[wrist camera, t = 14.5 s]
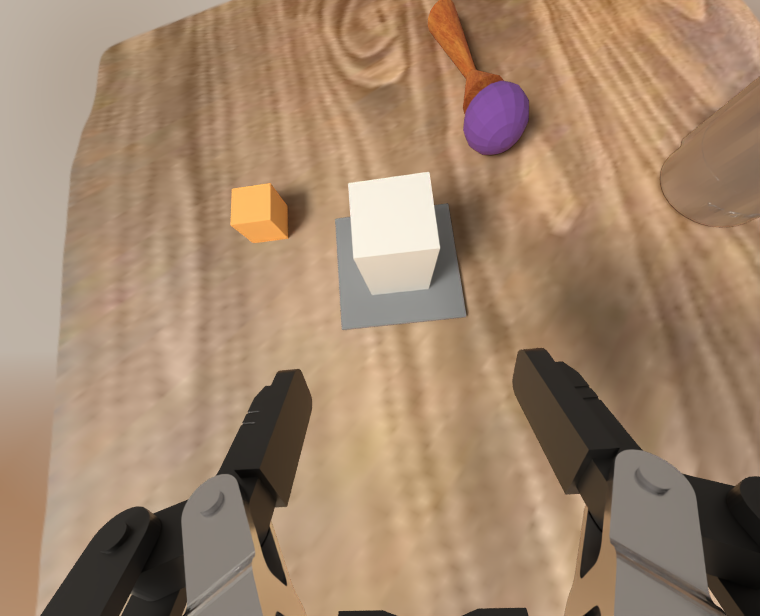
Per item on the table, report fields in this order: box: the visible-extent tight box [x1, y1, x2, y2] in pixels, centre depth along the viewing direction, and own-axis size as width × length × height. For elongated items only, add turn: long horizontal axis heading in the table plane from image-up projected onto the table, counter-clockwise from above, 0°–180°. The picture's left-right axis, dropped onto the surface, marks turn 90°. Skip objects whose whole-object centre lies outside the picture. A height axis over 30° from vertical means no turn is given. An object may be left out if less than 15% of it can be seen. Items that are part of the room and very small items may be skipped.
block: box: [231, 183, 288, 243], centre depth 28 cm, size 4×4×4 cm
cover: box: [348, 172, 440, 295], centre depth 23 cm, size 6×6×10 cm
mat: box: [335, 204, 466, 330], centre depth 27 cm, size 12×12×1 cm
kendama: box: [428, 0, 529, 155], centre depth 29 cm, size 6×6×20 cm
